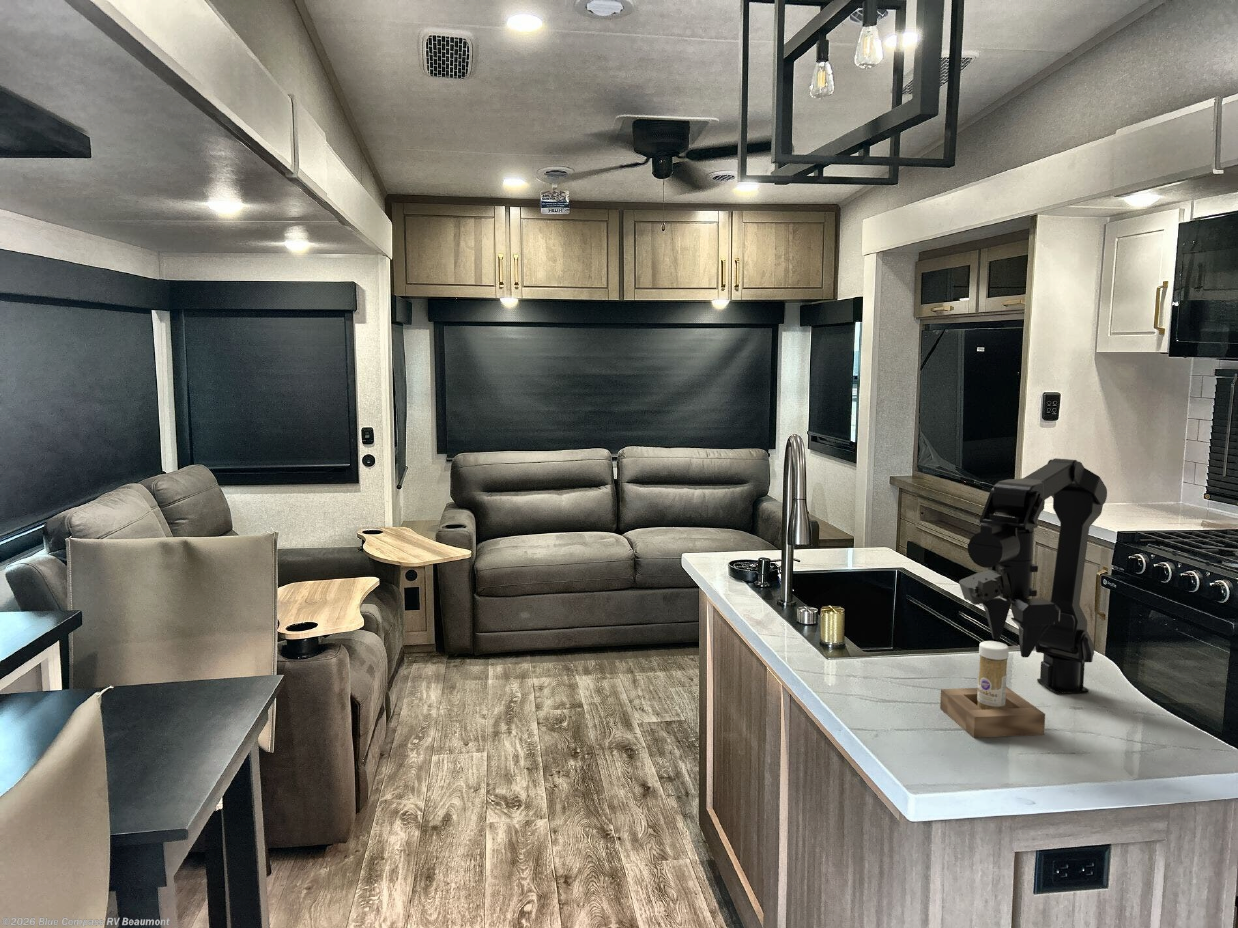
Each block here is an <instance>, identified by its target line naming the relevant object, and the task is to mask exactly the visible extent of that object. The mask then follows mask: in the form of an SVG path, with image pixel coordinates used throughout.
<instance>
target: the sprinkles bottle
mask: <svg viewBox="0 0 1238 928" xmlns="http://www.w3.org/2000/svg"><path fill="white" fill-rule="evenodd" d="M978 647H979V648H978V653H979V668H978V669H979V670H978V682H977V688H978V695H977V700H978V707H979V708H981V709H982V710H988V709H1005V699H1006V687H1007V680H1008V679H1007V676H1008V675H1007V667H1008V666H1007V665H1008V659H1009V654H1010V653H1009V652H1010V651H1009V648H1010V647H1009V646H1008V645H1007V644H1006V643H1003V642H1000V641H994V640H985V641H981V642H980V643H979V646H978Z"/></svg>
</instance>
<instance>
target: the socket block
mask: <svg viewBox="0 0 1238 928" xmlns="http://www.w3.org/2000/svg"><path fill="white" fill-rule="evenodd" d="M977 695H978V687H968V688H967V687H964V688H962V687H961V688H941V689H940V700H939V701H940V705H939V709H940V710H941V711H942V712H944V713H945V714H946V715H947V716H948V717H950V719H952V720H953V721H954V722H955V723H956V724H957V725H959V726H960V727H961V728H962V729H963V730H964V731H965V732H967V734H969V735H970V736H971V737H973V738H997V737H998V738H999V737H1015V736H1016V737H1017V736H1018V737H1020V736H1037V735H1039V736H1041V735H1045V728H1046V727H1045V726H1046V713H1044V711H1042V710H1041V709H1039V708H1037V707H1036V706H1034V705H1033V704H1032V703H1030V702H1029V700H1026V699H1025V698H1024V697H1022V696H1020V695H1019V694H1018V693H1017V692H1015V691H1013V690H1012V689H1011V688H1009V687H1008V686H1006V699H1005V709H988V710H982V709H981V708H979V707H978V700H977Z"/></svg>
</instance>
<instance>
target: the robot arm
mask: <svg viewBox="0 0 1238 928" xmlns="http://www.w3.org/2000/svg"><path fill="white" fill-rule="evenodd" d="M1107 496H1108V489H1107V486H1106V485H1105V483H1104V481H1103V480H1102V478H1101V477H1100V476H1099V475H1097V474H1096V473H1094V472H1092V471H1091V470H1089V469H1088V468H1087V467H1085V466H1084V465H1083V463H1082V462H1081V461H1078V460H1077V459H1069V458H1053V459H1049V460H1048V462H1047V463H1046V464H1045V465H1043V466H1041V467H1040V468H1038V469H1036V470H1035V471H1033V472H1031V473H1030V474H1027V476H1025V477H1023V478H1014V479H1012V478H1010V479H1004V480H1003V479H1002V480H999V481H998V482H996V483H995V484H994V485H993V486H992V488H991V489H990V492H989V494H988V496H987V498H986V502H985V504H984V508H983V511H982V514H981V515H980V518H979V523H980V524H981V525H980V528H979V529H980V531H979V532H977V533H975V534H974V535H973V536H971V538H970V539H969V542H968V544H967V553H968V555H969V558H970V559H971V561H972V562H973V563H974V564H976V565H977V566H979V567H981V568H985V569H987V570H984V571H982V572H981V571H980V572H977V573H974V574H971V575H970V576H967V577H965V578H962V579H960V580H959V581H958V584H959V586H960V587H959V588H960V589H961V592H962V595H963V599H964V600H966V601H969V602H970V603H971V604H973V605H982V607H983V609H984V612H985V615H986V618H987V623H988V626H989V629H990V633H991V637H992V639H994V640H1000V639H1001V637H1002V634H1003V631H1004V628H1005V625H1006V622H1007V618H1008V617H1009V616H1008V615H1009V612H1011V614H1012V616H1013V617H1010V619H1011V621H1013V622H1014V624H1016V626H1017V628H1018V639H1019V650H1020V651H1019V652H1020V656H1021V657H1022V658H1029V657H1030V655H1031V654H1032V652H1034V651H1033V650H1034V649H1035V652H1036V653H1037V654H1043V656H1042V657H1043V658H1042V661H1041V662H1040V671H1039V672H1040V674H1039V675H1040V676H1039V678H1037V680H1036V681H1037V683H1039V684H1041V685H1042V686H1044V687H1045V688H1047V689H1048V690H1049V691H1051V692H1053V693H1054V694H1058V695H1059V694H1079V693H1081V694H1082V693H1089V692H1090V691H1089V688H1088V687H1086V686H1084V683H1085V682H1084V681H1085V666H1086V665H1085V663H1093V659H1094V655H1095V647H1096V646H1095V645H1094V643H1093V640H1092V638H1091V636H1090V633H1088V620H1087V619H1088V618H1087V617H1086V615H1085V614H1084V611H1083V610H1082V607H1081V605H1080V604H1081V594H1082V589H1083V588H1082V586H1083V581H1084V580H1083V579H1084V571H1085V563H1086V558H1087V557H1086V556H1087V549H1088V542H1089V533H1090V532H1089V531H1090V527H1091V526H1092V525H1093V524H1094V523H1095V521H1096V520H1097V519H1098V518H1099V517H1100V516H1101V515H1102V512H1103V505H1104V504H1106V502H1107ZM1050 497H1051V498H1052V509H1053V511H1054V513H1055V515H1056V517H1057V519H1058V520H1059V523H1060V524H1059V532H1058V533H1059V534H1058V542H1057V549H1056V554H1055V555H1056V556H1055V565H1054V569H1053V570H1054V571H1053V572H1054V573H1053V577H1052V579H1053V580H1052V588H1051V595H1050V600H1048V599H1045V598H1044V597H1043V598H1042V597H1040V598H1039V597H1038V598H1037V596H1038V595H1037V594H1038V590H1037V589H1035V588H1033V587H1032V586H1033V585H1032V584H1033V583H1032V582H1033V573H1038V572H1039V566H1038V565H1037V564H1034V563H1033V562H1034V561H1033V558H1034V538H1035V529H1037V528H1038V526H1039V524H1038V522H1037V521H1038V520H1039V517H1040V515H1041V514H1042V512H1043V511H1044V510H1045V503H1046V500H1047V499H1048V498H1050ZM1030 597H1036V598H1030ZM1010 609H1011V611H1010Z"/></svg>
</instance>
